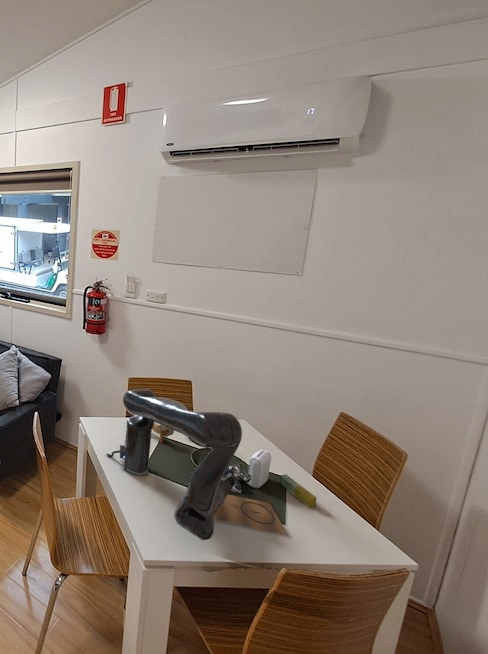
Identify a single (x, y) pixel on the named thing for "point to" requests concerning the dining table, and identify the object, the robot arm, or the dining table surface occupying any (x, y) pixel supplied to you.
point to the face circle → (253, 519)
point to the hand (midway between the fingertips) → (226, 468)
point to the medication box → (298, 491)
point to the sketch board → (249, 514)
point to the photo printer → (259, 468)
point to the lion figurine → (162, 431)
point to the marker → (226, 470)
